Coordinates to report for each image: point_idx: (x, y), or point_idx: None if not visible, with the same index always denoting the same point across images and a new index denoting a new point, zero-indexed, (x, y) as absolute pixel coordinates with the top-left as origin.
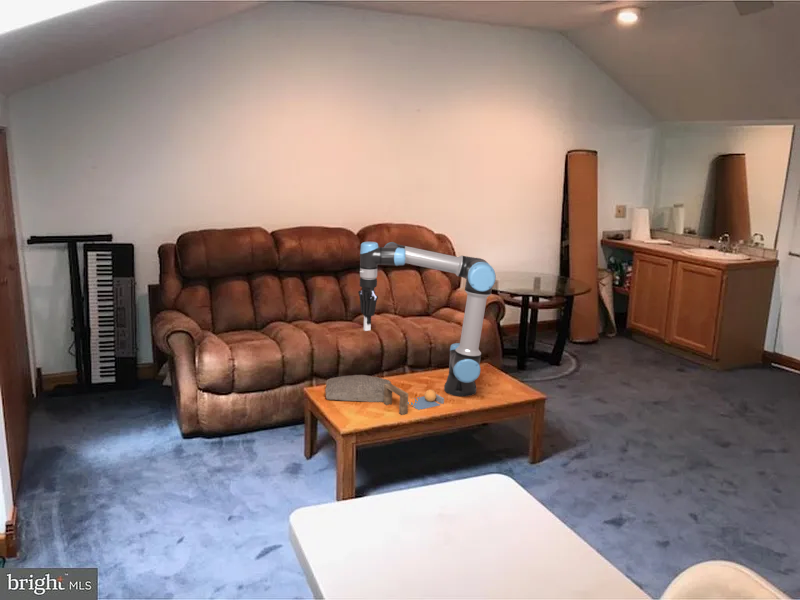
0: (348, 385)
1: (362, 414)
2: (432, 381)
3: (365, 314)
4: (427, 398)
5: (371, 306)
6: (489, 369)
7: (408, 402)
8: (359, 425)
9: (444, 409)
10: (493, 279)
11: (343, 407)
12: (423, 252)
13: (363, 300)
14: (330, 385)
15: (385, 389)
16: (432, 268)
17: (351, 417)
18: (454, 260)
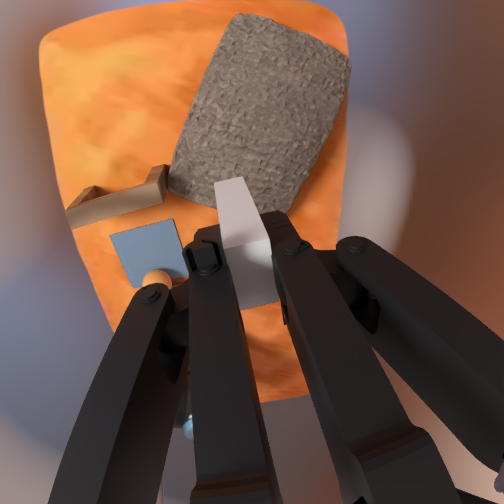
0: (237, 77)
1: (107, 90)
2: (277, 313)
3: (275, 268)
4: (147, 273)
5: (79, 429)
6: (293, 395)
7: (157, 227)
8: (47, 74)
9: (109, 287)
10: None
11: (169, 49)
12: None
13: (399, 426)
14: (275, 33)
15: (151, 179)
16: None
17: (96, 59)
18: None
